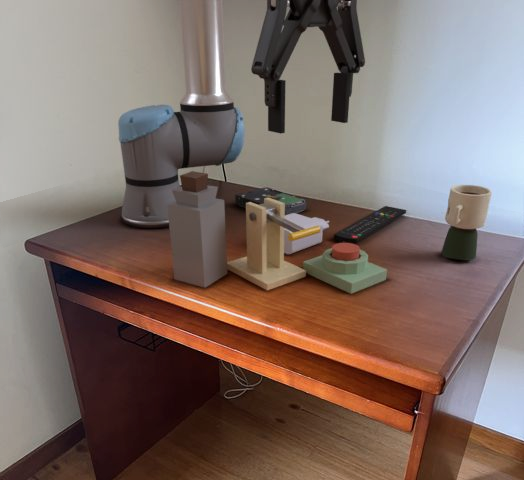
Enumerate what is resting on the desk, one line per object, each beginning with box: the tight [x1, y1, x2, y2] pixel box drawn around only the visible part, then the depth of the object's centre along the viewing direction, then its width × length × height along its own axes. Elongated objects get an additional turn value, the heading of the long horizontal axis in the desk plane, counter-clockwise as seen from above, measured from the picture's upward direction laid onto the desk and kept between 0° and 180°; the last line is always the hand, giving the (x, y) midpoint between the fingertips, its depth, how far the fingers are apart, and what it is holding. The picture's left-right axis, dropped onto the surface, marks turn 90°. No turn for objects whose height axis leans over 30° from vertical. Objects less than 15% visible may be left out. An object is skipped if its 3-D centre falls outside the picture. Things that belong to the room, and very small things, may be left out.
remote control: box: [333, 205, 407, 244], centre depth 119 cm, size 5×24×1 cm, turn 143°
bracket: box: [227, 198, 307, 291], centre depth 96 cm, size 12×9×13 cm
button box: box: [302, 247, 388, 295], centre depth 97 cm, size 12×9×4 cm
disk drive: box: [234, 186, 307, 215], centre depth 131 cm, size 10×3×15 cm
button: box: [331, 242, 361, 261], centre depth 96 cm, size 5×5×2 cm
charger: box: [284, 213, 330, 255], centre depth 112 cm, size 5×9×15 cm
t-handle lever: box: [260, 203, 320, 241], centre depth 91 cm, size 12×6×2 cm, turn 39°
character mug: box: [441, 184, 493, 261], centre depth 102 cm, size 11×7×13 cm, turn 140°
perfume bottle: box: [167, 170, 228, 289], centre depth 93 cm, size 7×7×18 cm
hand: (309, 126), depth 79 cm, fingers open, 12 cm apart
